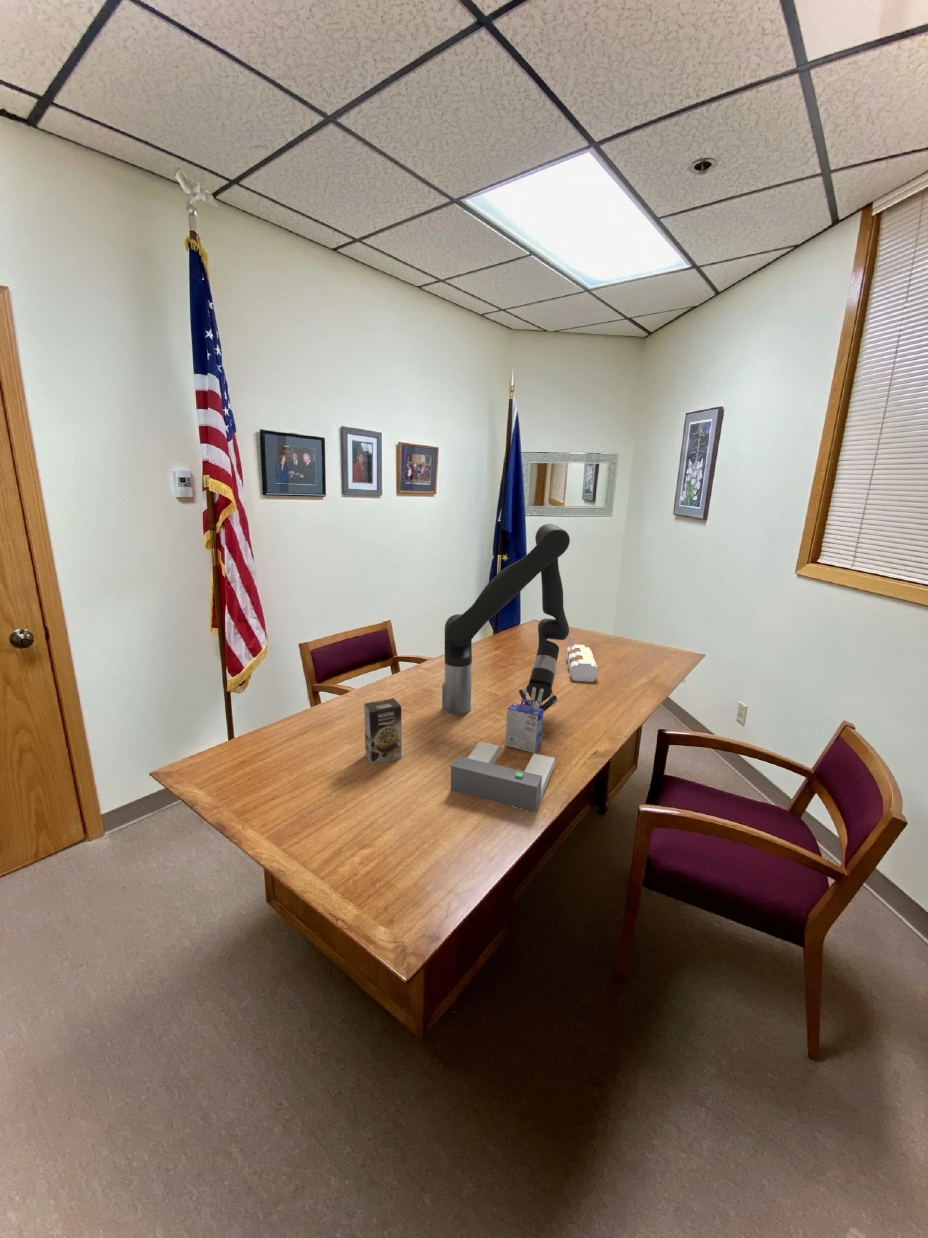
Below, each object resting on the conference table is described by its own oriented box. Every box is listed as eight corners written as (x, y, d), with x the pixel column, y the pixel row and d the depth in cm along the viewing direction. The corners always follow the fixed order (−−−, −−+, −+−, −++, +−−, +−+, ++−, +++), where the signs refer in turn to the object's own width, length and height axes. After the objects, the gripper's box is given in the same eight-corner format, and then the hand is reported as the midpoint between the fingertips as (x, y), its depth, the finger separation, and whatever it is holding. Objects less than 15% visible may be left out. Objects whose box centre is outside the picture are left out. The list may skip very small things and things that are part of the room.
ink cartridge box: (542, 746, 144) (545, 701, 141) (536, 754, 140) (538, 708, 136) (511, 738, 149) (513, 694, 145) (504, 745, 144) (506, 701, 140)
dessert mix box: (371, 765, 133) (369, 712, 128) (364, 754, 138) (362, 702, 134) (402, 758, 137) (401, 705, 132) (395, 747, 142) (394, 697, 138)
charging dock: (450, 790, 122) (450, 763, 120) (479, 750, 141) (480, 727, 139) (535, 812, 114) (537, 784, 112) (554, 767, 133) (556, 743, 131)
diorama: (566, 660, 219) (568, 632, 216) (589, 661, 218) (591, 634, 214) (570, 681, 195) (572, 650, 192) (596, 682, 194) (599, 652, 191)
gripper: (522, 663, 158) (509, 713, 151) (562, 669, 153) (551, 721, 146) (525, 673, 164) (513, 721, 157) (564, 679, 160) (554, 729, 152)
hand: (532, 721), depth 151 cm, fingers closed
